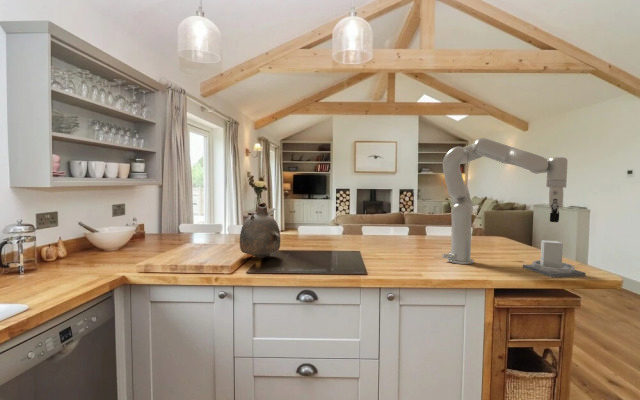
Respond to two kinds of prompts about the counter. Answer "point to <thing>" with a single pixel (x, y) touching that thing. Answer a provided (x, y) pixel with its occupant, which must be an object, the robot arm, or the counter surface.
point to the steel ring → (567, 268)
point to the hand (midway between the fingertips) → (554, 221)
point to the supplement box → (551, 254)
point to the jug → (260, 234)
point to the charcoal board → (553, 274)
